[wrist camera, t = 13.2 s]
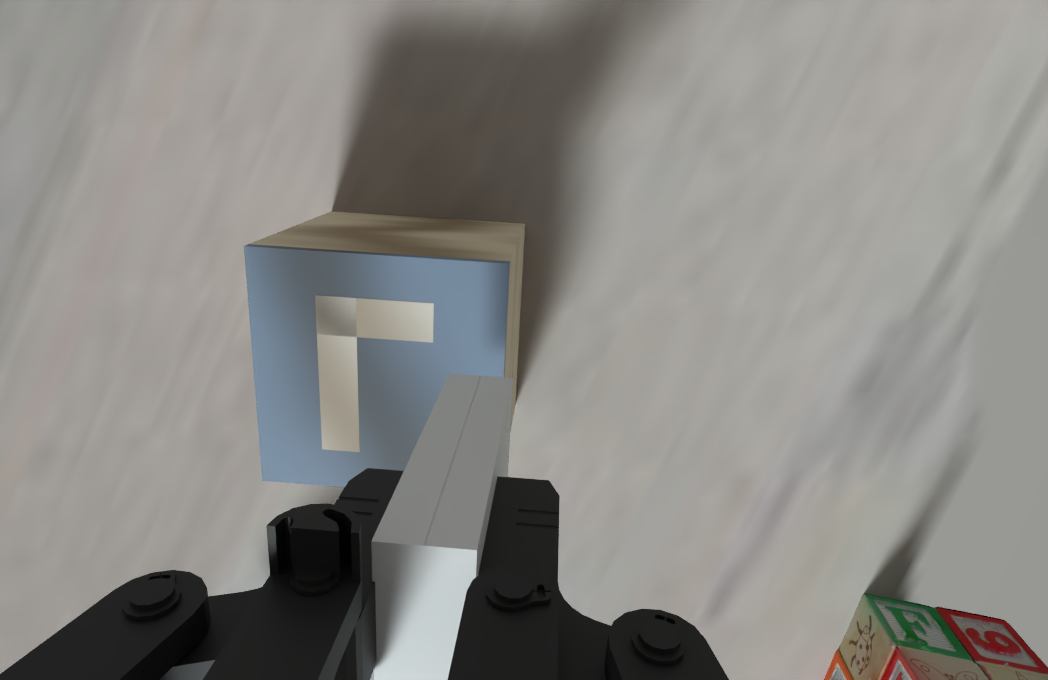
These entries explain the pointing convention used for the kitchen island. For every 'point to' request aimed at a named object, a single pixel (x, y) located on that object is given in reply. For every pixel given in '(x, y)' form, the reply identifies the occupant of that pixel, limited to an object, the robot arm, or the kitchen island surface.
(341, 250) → the beech cube
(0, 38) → the kitchen island surface
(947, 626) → the stack of blocks
